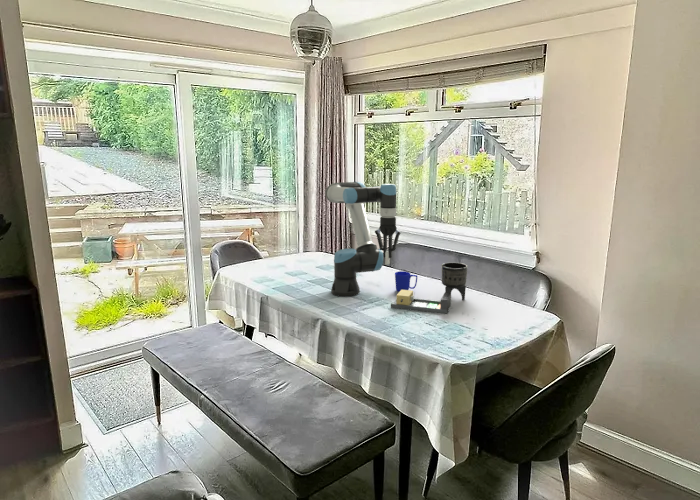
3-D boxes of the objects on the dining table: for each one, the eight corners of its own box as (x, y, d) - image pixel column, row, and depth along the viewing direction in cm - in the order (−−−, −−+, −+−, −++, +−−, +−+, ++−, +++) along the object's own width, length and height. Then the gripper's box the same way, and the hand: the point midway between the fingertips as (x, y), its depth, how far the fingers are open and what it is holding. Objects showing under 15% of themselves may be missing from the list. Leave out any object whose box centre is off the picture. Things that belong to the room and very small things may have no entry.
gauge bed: (390, 308, 230) (390, 303, 230) (397, 300, 241) (397, 296, 241) (446, 314, 221) (446, 310, 221) (450, 306, 232) (450, 302, 232)
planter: (467, 296, 247) (468, 263, 243) (464, 304, 235) (466, 269, 231) (442, 294, 251) (443, 261, 247) (438, 301, 239) (439, 267, 235)
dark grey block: (440, 311, 222) (440, 299, 220) (444, 303, 233) (444, 292, 231) (446, 312, 221) (447, 300, 219) (450, 304, 232) (451, 292, 230)
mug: (416, 294, 251) (417, 275, 249) (393, 292, 254) (394, 274, 252) (417, 289, 259) (418, 271, 257) (395, 288, 262) (395, 270, 259)
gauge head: (395, 306, 228) (395, 296, 226) (401, 299, 239) (401, 289, 238) (409, 308, 225) (409, 298, 224) (415, 300, 236) (415, 290, 235)
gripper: (372, 217, 226) (372, 265, 231) (399, 218, 222) (398, 267, 227) (377, 214, 233) (377, 261, 238) (403, 216, 228) (402, 263, 234)
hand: (387, 264), depth 232 cm, fingers closed
